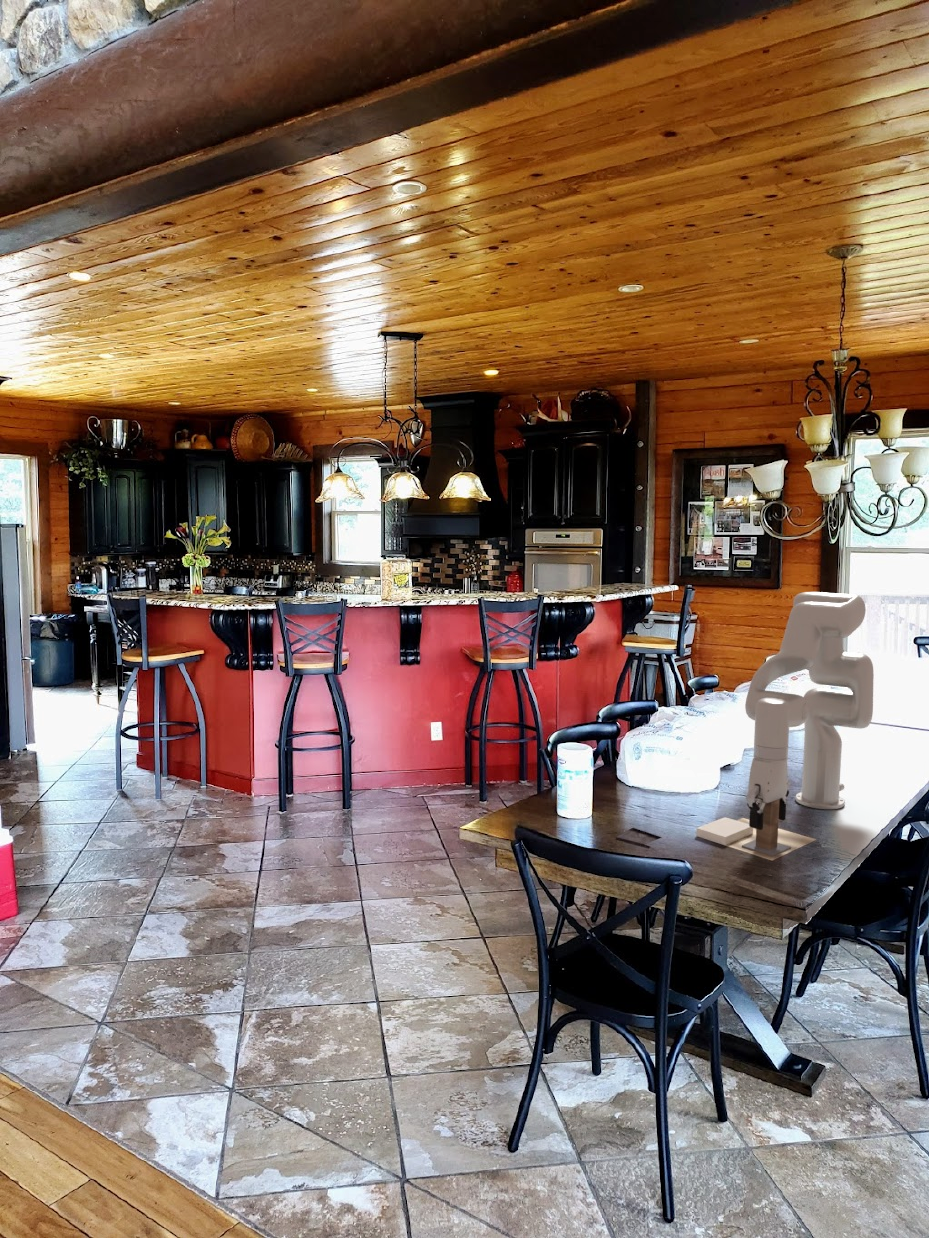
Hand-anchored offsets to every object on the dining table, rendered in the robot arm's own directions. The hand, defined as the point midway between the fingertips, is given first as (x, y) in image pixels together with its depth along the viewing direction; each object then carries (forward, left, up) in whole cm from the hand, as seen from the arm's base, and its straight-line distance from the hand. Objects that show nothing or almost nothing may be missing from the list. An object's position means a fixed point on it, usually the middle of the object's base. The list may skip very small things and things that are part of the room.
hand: (767, 823), depth 212 cm
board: (-4, -5, -7) cm, 10 cm away
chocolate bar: (+10, -26, -8) cm, 29 cm away
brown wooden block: (0, 0, -6) cm, 6 cm away
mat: (0, 0, -6) cm, 6 cm away
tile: (-6, -11, -5) cm, 13 cm away
